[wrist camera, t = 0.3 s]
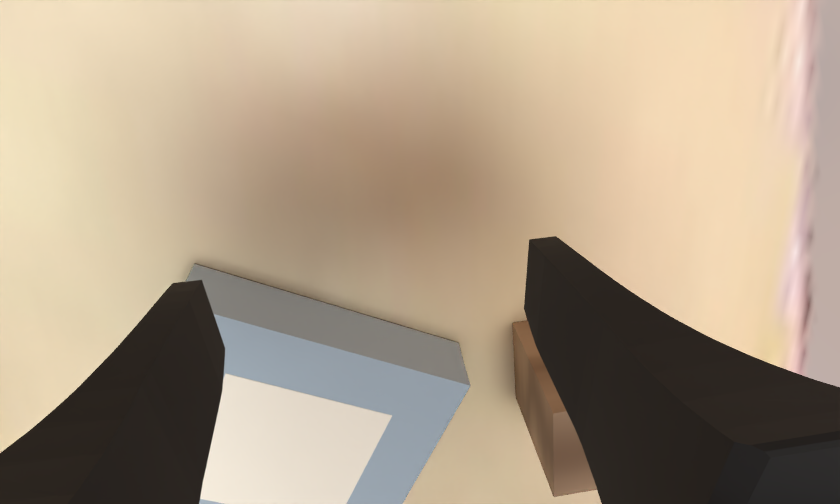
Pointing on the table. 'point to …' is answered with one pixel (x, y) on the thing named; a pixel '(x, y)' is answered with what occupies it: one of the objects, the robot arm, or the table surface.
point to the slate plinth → (322, 399)
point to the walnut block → (548, 419)
